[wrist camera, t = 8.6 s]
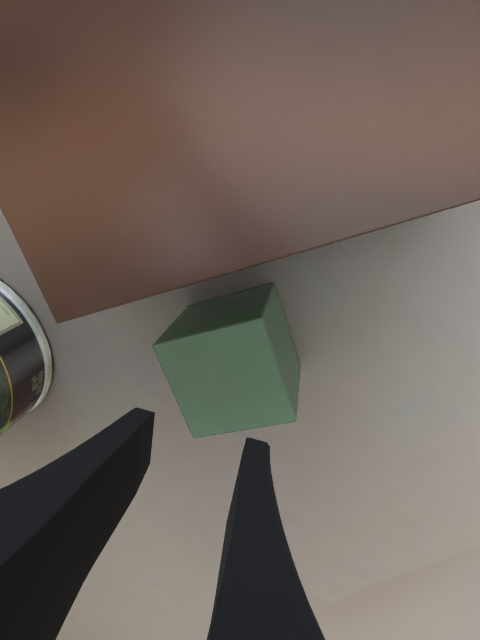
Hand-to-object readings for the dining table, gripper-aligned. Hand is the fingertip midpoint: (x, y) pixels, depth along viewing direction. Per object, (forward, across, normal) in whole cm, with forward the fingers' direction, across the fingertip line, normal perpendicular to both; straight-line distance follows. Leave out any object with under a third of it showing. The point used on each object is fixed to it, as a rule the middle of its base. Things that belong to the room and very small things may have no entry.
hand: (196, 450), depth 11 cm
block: (+8, 0, 0) cm, 8 cm away
